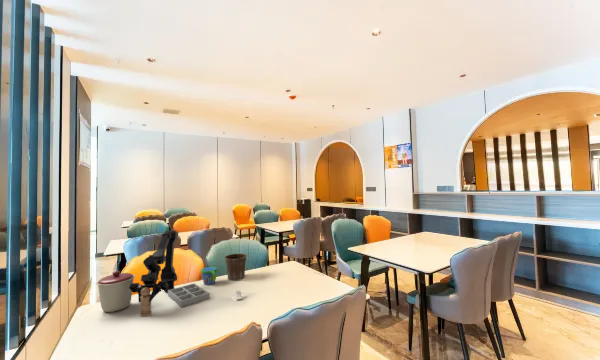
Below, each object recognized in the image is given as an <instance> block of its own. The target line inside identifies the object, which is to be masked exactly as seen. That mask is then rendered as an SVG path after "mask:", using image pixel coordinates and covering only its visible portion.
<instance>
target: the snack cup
mask: <svg viewBox="0 0 600 360" xmlns="http://www.w3.org/2000/svg"><path fill="white" fill-rule="evenodd" d="M217 270H218V268H217V267H216V266H210V267H209V266H208V267H204V268H202V269H201V270H200V273H201V277H202V281H203V284H204V285H206V286H207V285H208V286H210V285H212V284H215V283H216V280H217V277H216V275H217Z"/></svg>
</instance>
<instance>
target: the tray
mask: <svg viewBox="0 0 600 360" xmlns="http://www.w3.org/2000/svg"><path fill="white" fill-rule="evenodd" d="M174 288H175V289H171V290H168V292H167V296H168V297H169V298H170V299H171V300H172V301H173V302H174V301H175V302H174V303H176V305H178V306H179V307H180V308H181V309H182V308H185V307H188V306H192V305H195V304H197V303H201V302H203V301H206V300H210V298H211V297H210V292H209V291H207V290H205V289H204V288H202V287H201V286H199V285H198V284H196V283H195V282H194V283H191V284H186V285H182V286H179V287H174Z"/></svg>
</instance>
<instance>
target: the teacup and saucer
mask: <svg viewBox="0 0 600 360" xmlns="http://www.w3.org/2000/svg"><path fill="white" fill-rule="evenodd" d="M231 299H232V300H233V301H241V300H244V299H246V295H245V294H242V291H241V290H236V291H235V295H234V296H232V297H231Z"/></svg>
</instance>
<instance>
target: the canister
mask: <svg viewBox="0 0 600 360" xmlns="http://www.w3.org/2000/svg"><path fill="white" fill-rule="evenodd" d="M135 277H136V275H135V274H132V273H130V272H122V273H121V271H119V270H115V271H113V272H112V274H110V275H107V276H105V277H102V278H100V279H99V280H98V281H96V285H97V287H98V294H99V301H100V307H101V310H102V311H103V312H106V313H113V312H118V311H121V310H123V309H126V308H127V307H129V306H130V304H131V301H132V296H133V292H132V291H131V290H130V289H129V286H130V285H131V284H132V283H134V279H135Z"/></svg>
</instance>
